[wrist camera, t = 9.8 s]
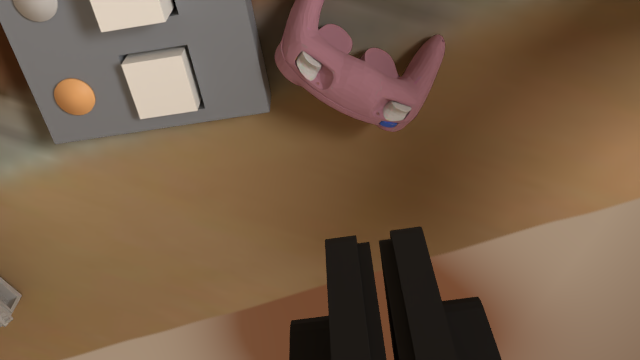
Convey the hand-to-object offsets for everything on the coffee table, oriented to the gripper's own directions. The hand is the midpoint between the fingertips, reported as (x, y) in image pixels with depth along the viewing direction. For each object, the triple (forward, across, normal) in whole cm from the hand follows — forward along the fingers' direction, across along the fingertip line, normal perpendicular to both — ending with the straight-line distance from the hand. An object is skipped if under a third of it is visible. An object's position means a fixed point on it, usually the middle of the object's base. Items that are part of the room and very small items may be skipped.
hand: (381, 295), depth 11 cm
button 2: (+28, +11, +6) cm, 31 cm away
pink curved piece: (+29, -1, +6) cm, 30 cm away
